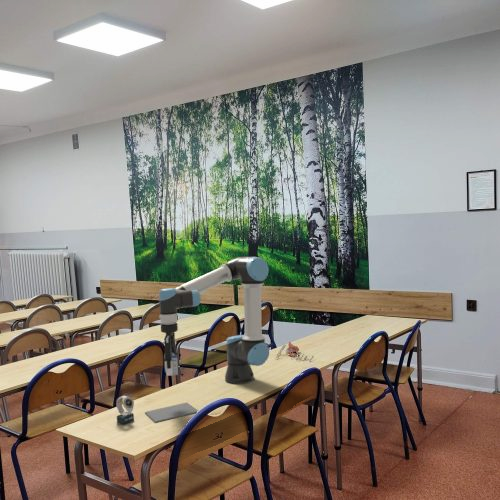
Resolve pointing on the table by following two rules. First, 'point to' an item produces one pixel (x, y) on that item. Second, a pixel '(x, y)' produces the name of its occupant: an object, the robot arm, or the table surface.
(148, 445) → the table surface
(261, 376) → the table surface
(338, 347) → the table surface
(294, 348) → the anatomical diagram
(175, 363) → the medicine box
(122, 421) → the watch
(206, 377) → the table surface
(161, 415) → the mat
